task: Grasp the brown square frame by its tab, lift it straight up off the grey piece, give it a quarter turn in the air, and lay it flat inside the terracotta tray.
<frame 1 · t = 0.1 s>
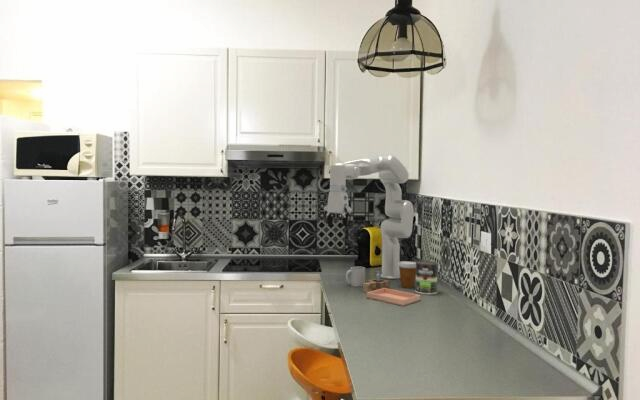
hand: (337, 225, 223), 31 cm above the worktop, fingers open, 9 cm apart
cup: (354, 285, 235), on the worktop
brown square frame: (378, 288, 227), on the worktop
coffee can: (426, 292, 221), on the worktop
disposable coffee cup: (407, 286, 233), on the worktop
grey piece: (378, 288, 227), on the worktop
tray: (393, 299, 207), on the worktop
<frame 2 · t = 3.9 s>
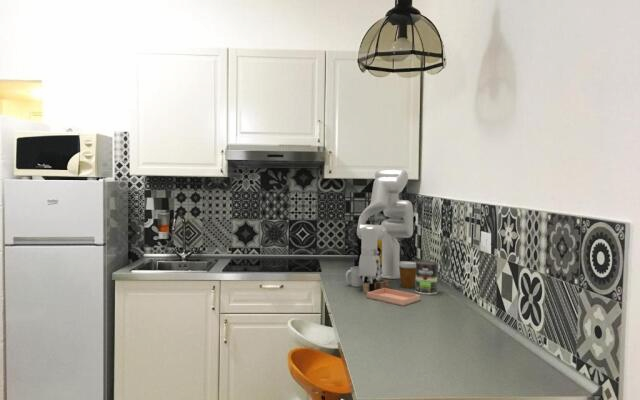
hand: (368, 290, 222), 0 cm above the worktop, fingers closed on brown square frame, 3 cm apart
brown square frame: (378, 288, 227), on the worktop, touching gripper
everything else where it was.
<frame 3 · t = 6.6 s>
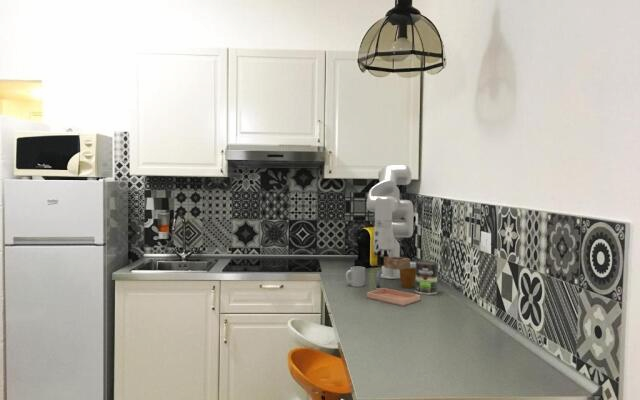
hand: (382, 264, 211), 15 cm above the worktop, fingers closed on brown square frame, 3 cm apart
brown square frame: (397, 267, 205), point 14 cm above the worktop, touching gripper
everything else where it was.
when the fingers open (2 cm above the worktop, at t = 9.6 s): brown square frame drops 1 cm, resting on tray.
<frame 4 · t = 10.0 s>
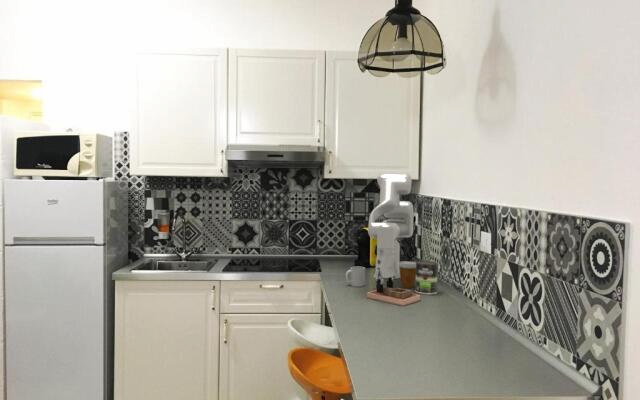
hand: (384, 291, 210), 3 cm above the worktop, fingers open, 7 cm apart
brown square frame: (399, 299, 205), resting on tray
everything else where it was.
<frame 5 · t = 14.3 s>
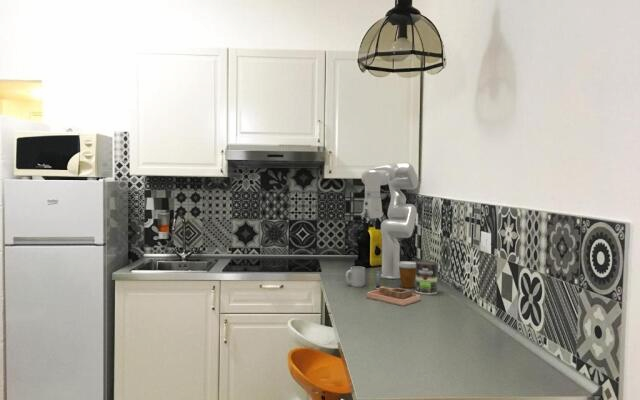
hand: (372, 230, 230), 28 cm above the worktop, fingers open, 9 cm apart
nothing on the worktop moved.
at the end: brown square frame inside the target area on the tray (3.2 cm from its centre), point 0.5 cm above the tray's base; brown square frame tilted 0°; the gripper is holding nothing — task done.
